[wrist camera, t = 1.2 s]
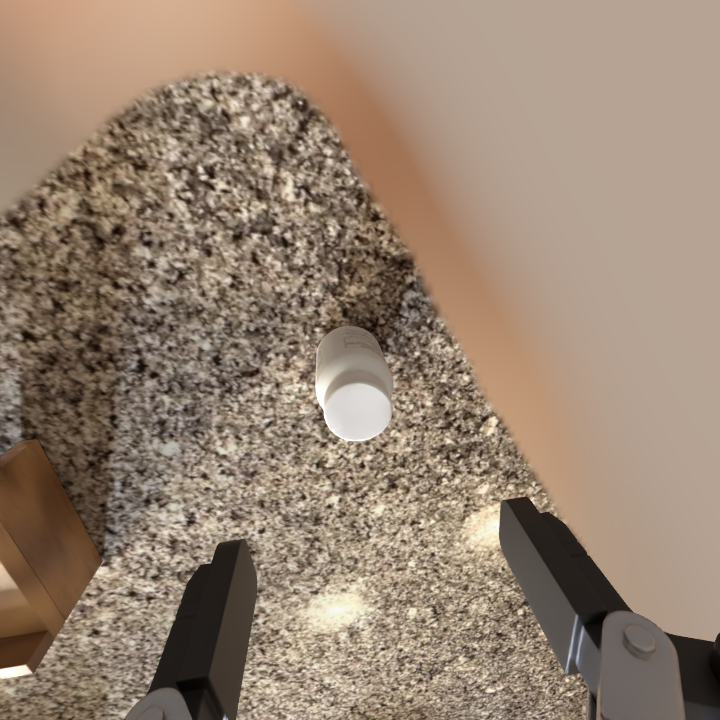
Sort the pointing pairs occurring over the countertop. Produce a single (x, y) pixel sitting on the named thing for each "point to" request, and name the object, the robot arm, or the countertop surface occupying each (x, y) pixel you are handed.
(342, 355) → the pill bottle
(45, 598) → the shelf
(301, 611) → the countertop surface
